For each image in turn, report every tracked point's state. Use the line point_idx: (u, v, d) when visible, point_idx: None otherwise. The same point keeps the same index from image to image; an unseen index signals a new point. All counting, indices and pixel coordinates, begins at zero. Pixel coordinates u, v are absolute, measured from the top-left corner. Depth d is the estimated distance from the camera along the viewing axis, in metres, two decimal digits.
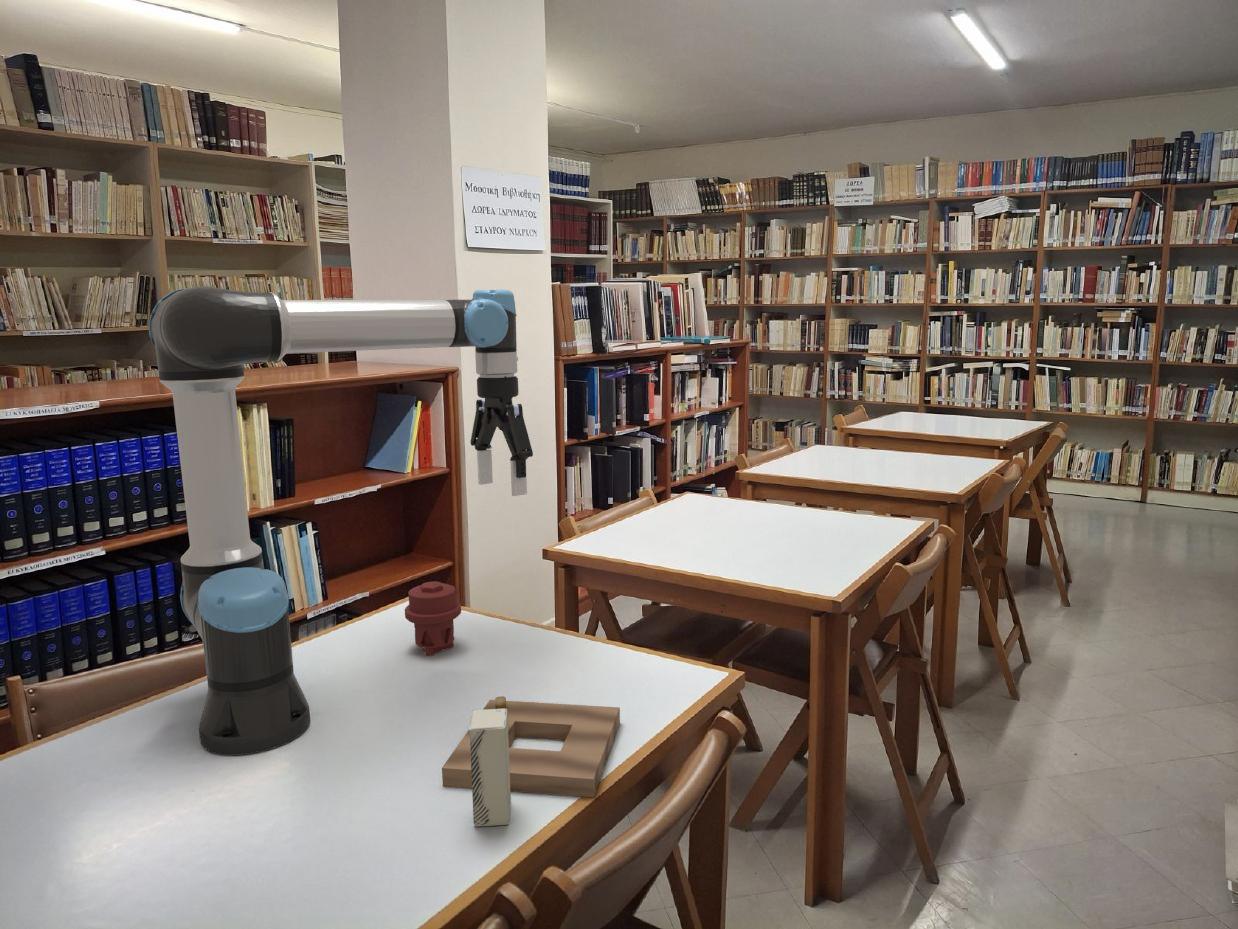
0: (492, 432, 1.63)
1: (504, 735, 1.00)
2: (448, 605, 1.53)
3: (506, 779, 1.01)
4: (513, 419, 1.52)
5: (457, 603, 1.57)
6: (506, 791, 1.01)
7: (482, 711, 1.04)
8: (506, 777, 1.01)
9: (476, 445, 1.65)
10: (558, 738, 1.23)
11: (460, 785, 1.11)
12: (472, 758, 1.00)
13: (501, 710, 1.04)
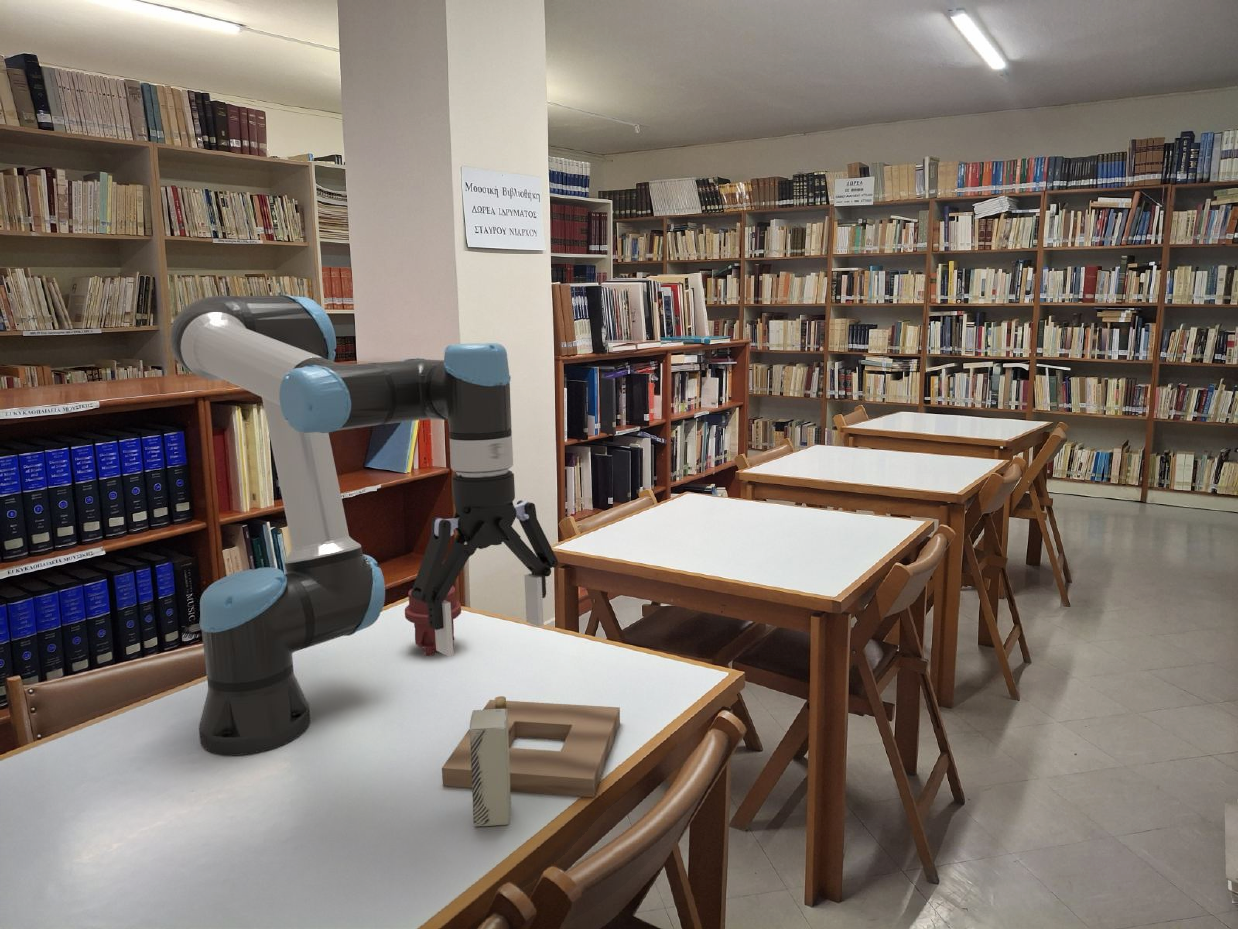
0: (519, 552, 1.08)
1: (504, 735, 1.00)
2: None
3: (506, 779, 1.01)
4: (431, 540, 1.01)
5: (457, 603, 1.57)
6: (506, 791, 1.01)
7: (482, 711, 1.04)
8: (506, 777, 1.01)
9: None
10: (558, 738, 1.23)
11: (460, 785, 1.11)
12: (472, 758, 1.00)
13: (501, 710, 1.04)
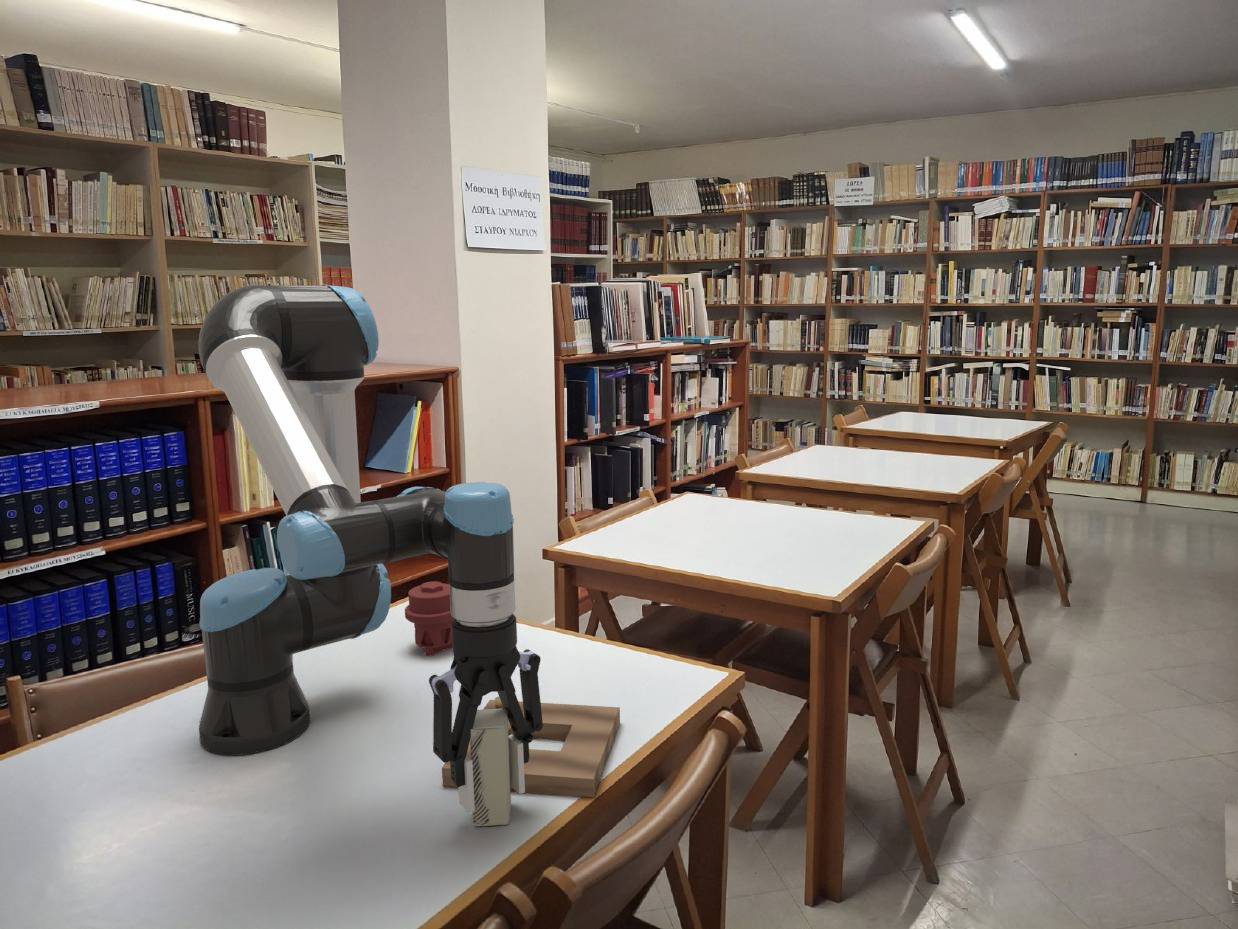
0: (509, 707, 1.03)
1: (504, 735, 1.00)
2: (448, 605, 1.53)
3: (506, 779, 1.01)
4: (434, 699, 0.99)
5: None
6: (506, 791, 1.01)
7: (482, 711, 1.04)
8: (506, 777, 1.01)
9: None
10: (558, 738, 1.23)
11: None
12: (472, 758, 1.00)
13: (501, 710, 1.04)
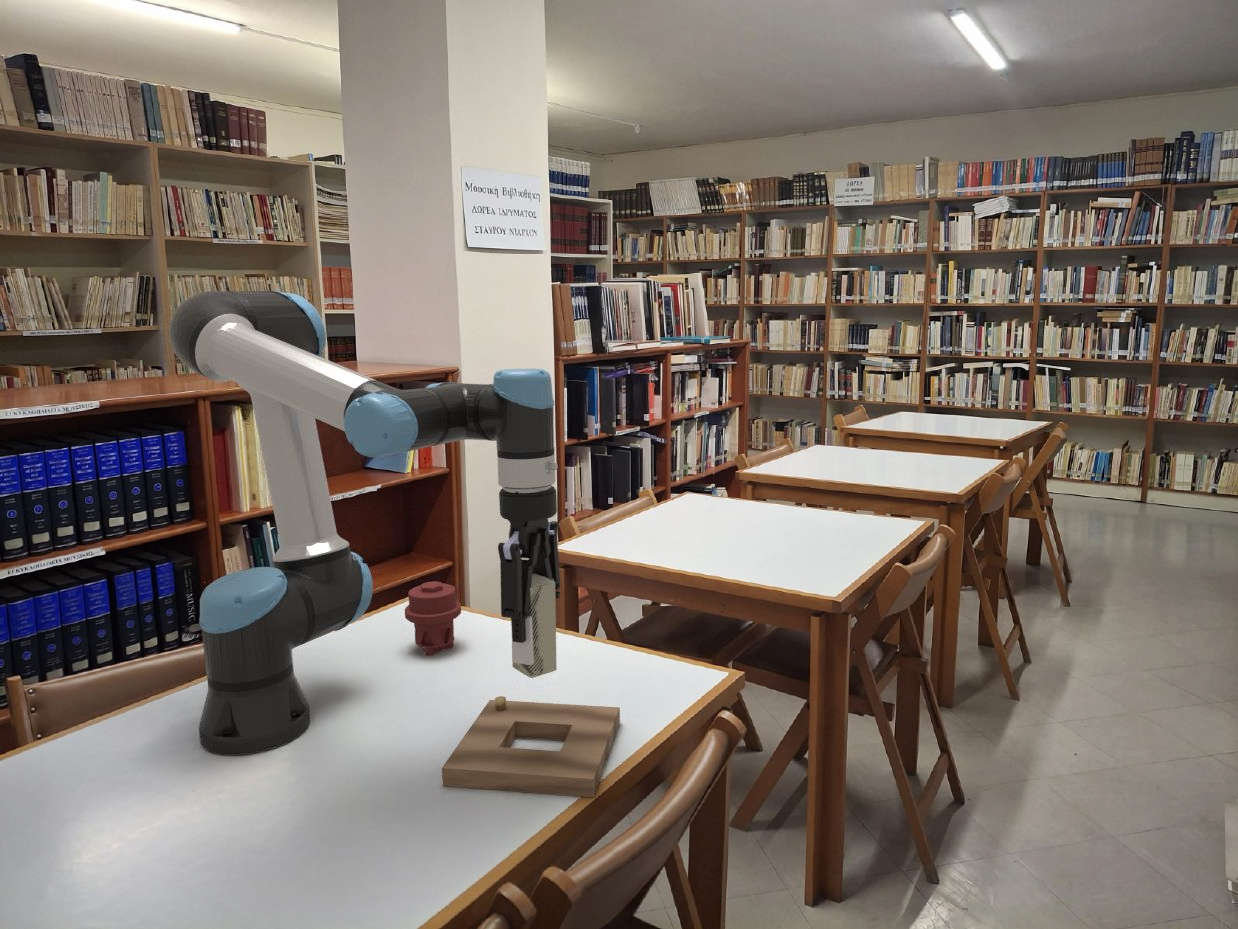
0: (543, 569, 1.17)
1: (554, 588, 1.14)
2: (448, 605, 1.53)
3: (555, 628, 1.15)
4: (502, 564, 1.09)
5: (457, 603, 1.57)
6: (555, 639, 1.16)
7: None
8: (555, 627, 1.15)
9: None
10: (558, 738, 1.23)
11: (460, 785, 1.11)
12: (531, 614, 1.12)
13: (534, 574, 1.17)
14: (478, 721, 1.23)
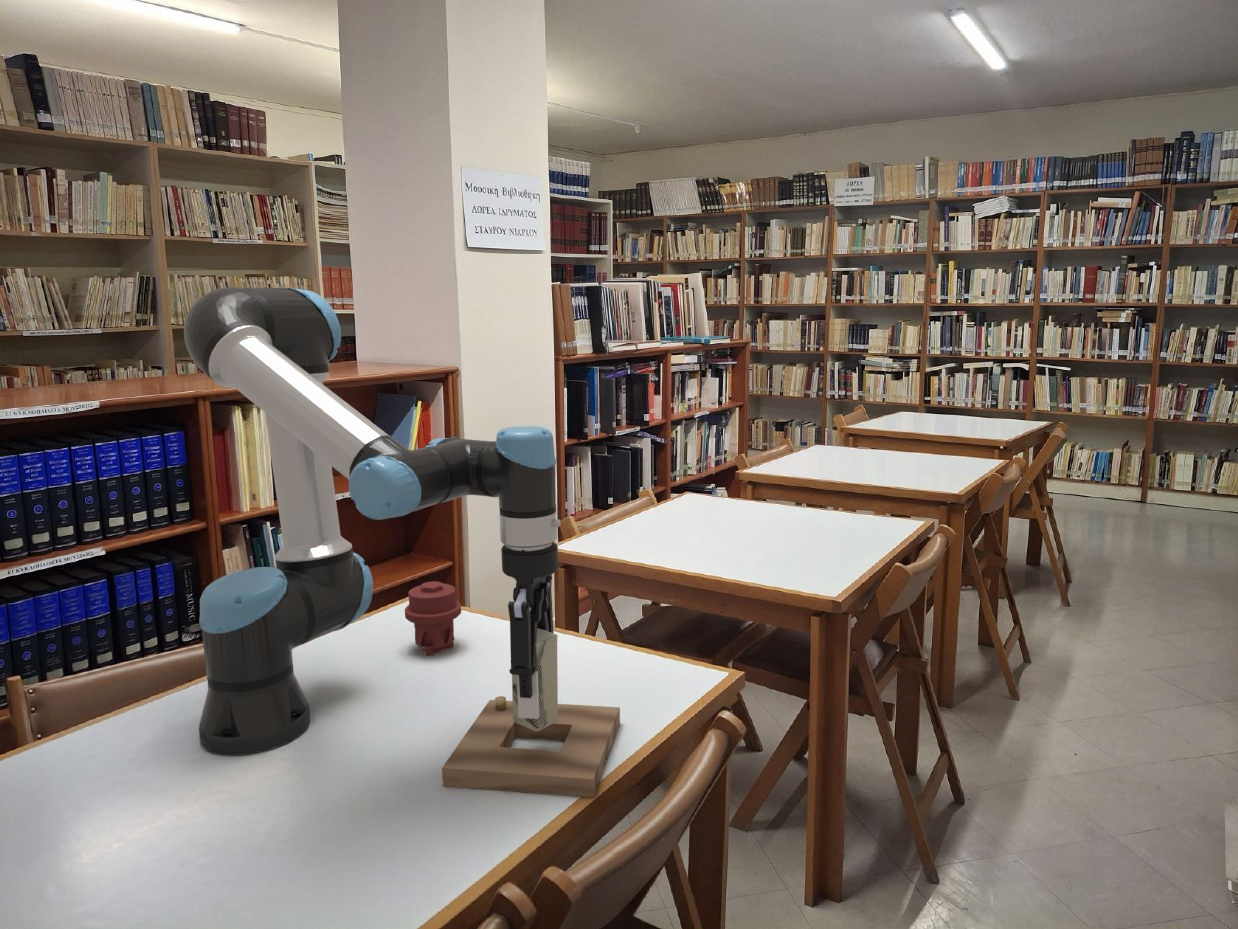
0: (542, 622, 1.18)
1: (556, 641, 1.16)
2: (448, 605, 1.53)
3: (557, 680, 1.17)
4: (512, 623, 1.10)
5: (457, 603, 1.57)
6: (557, 691, 1.18)
7: None
8: (557, 679, 1.17)
9: None
10: (558, 738, 1.23)
11: (460, 785, 1.11)
12: (537, 669, 1.14)
13: None
14: (478, 721, 1.23)
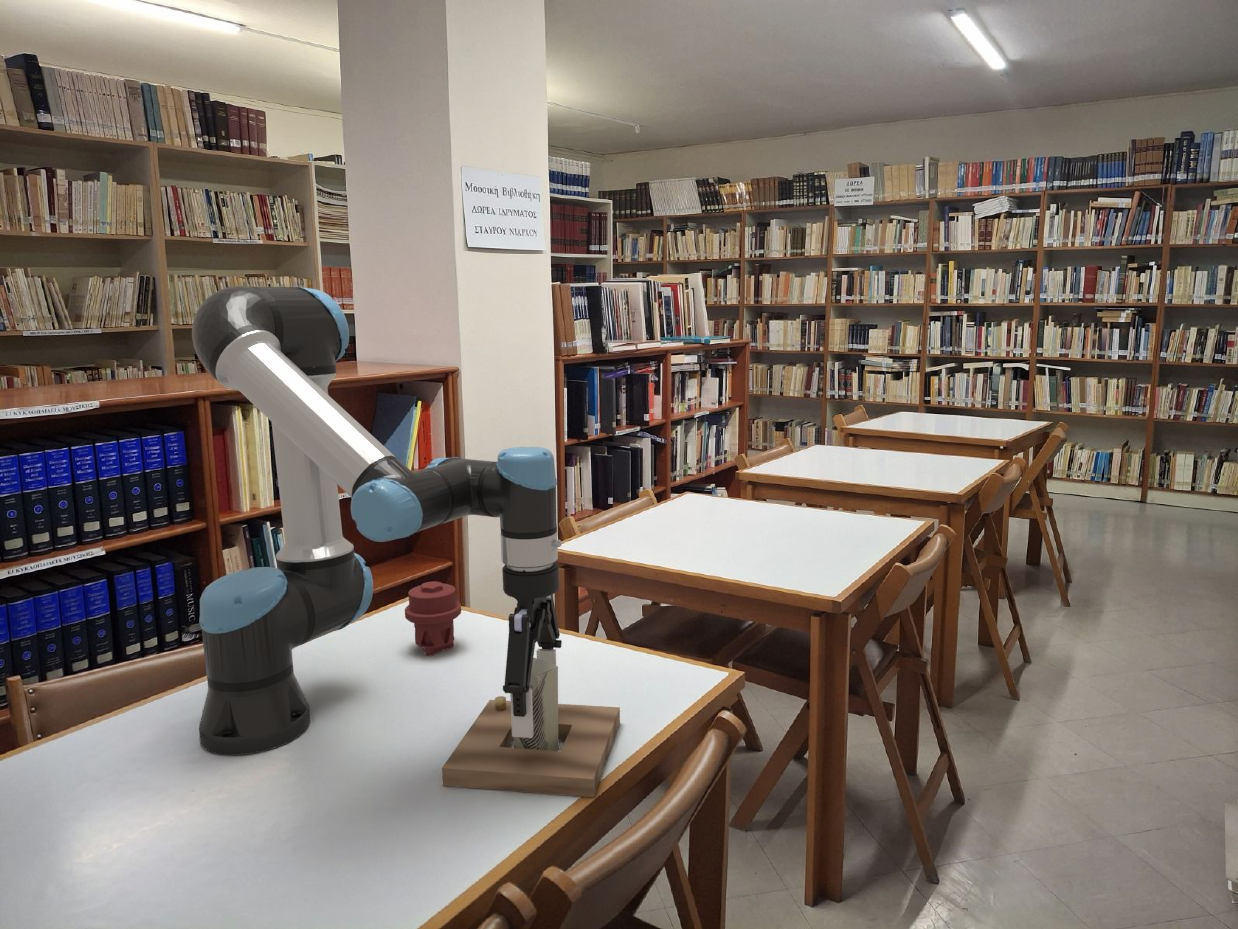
0: (546, 631, 1.20)
1: (557, 673, 1.17)
2: (448, 605, 1.53)
3: (557, 711, 1.18)
4: (511, 636, 1.09)
5: (457, 603, 1.57)
6: (557, 722, 1.18)
7: None
8: (557, 709, 1.18)
9: None
10: (558, 738, 1.23)
11: (460, 785, 1.11)
12: (538, 701, 1.15)
13: (533, 659, 1.19)
14: (478, 721, 1.23)
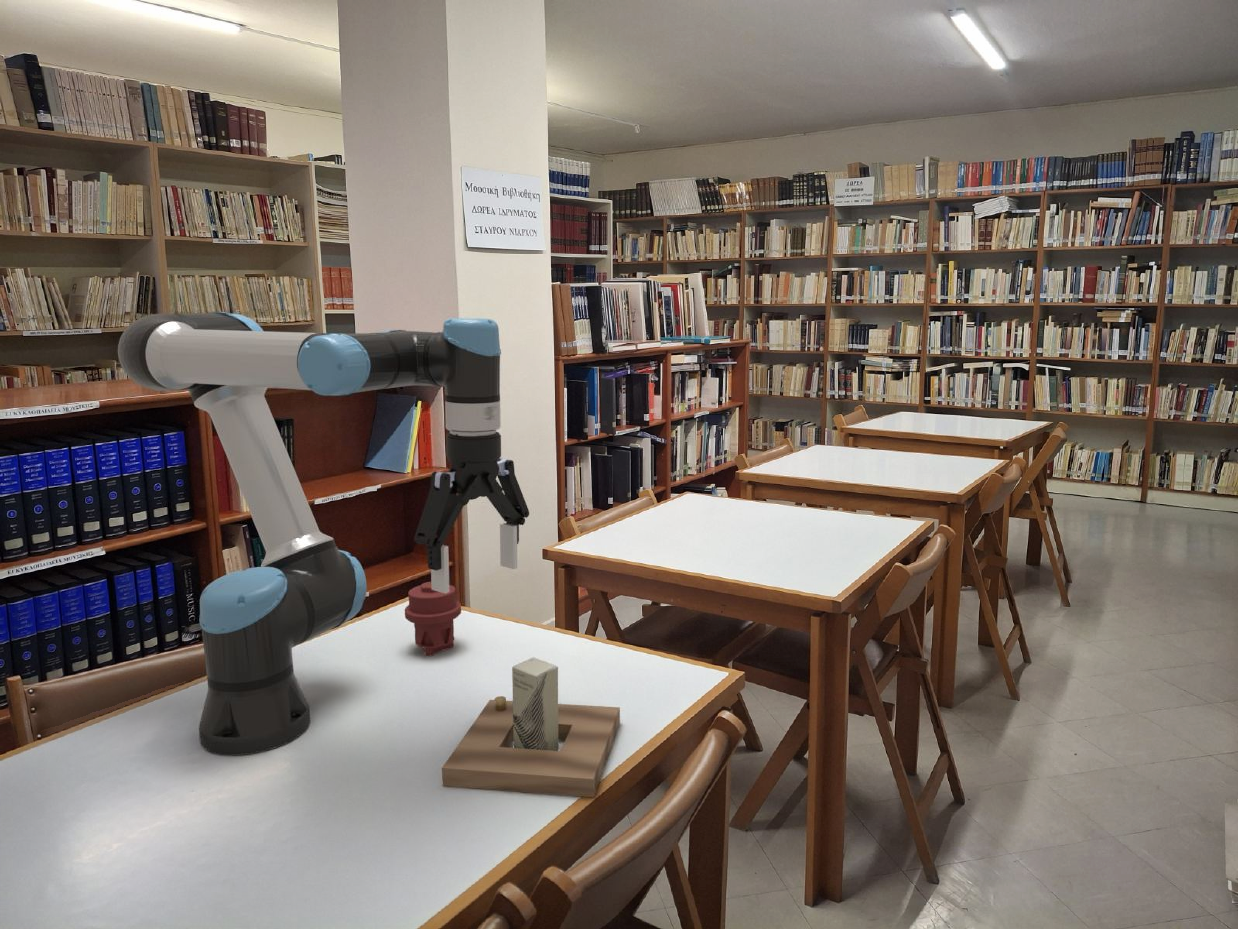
0: (500, 504, 1.23)
1: (557, 673, 1.17)
2: (448, 605, 1.53)
3: (557, 711, 1.18)
4: (431, 491, 1.14)
5: (457, 603, 1.57)
6: (557, 722, 1.18)
7: (521, 664, 1.17)
8: (557, 709, 1.18)
9: None
10: (558, 738, 1.23)
11: (460, 785, 1.11)
12: (538, 701, 1.15)
13: (533, 659, 1.19)
14: (478, 721, 1.23)
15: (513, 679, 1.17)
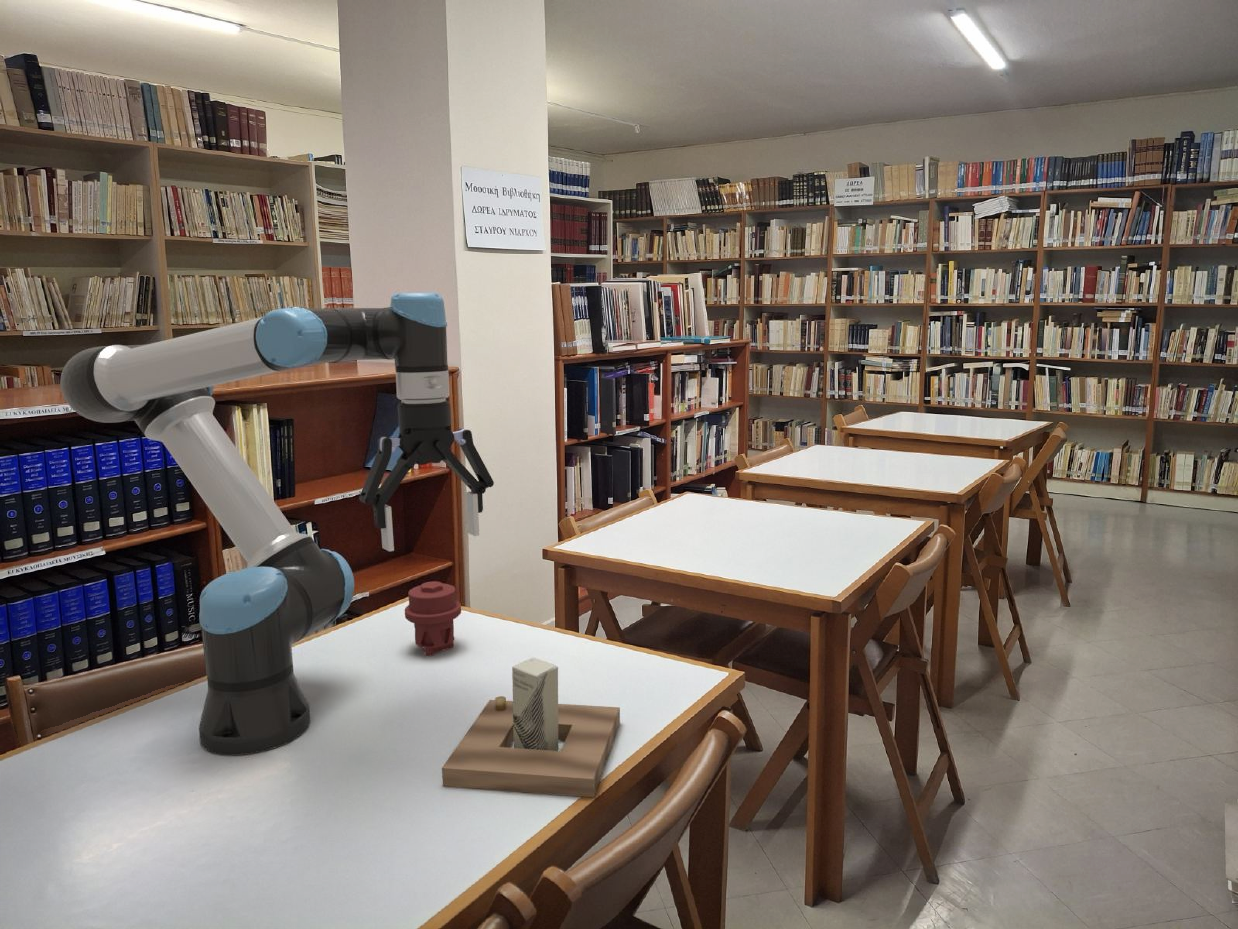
0: (457, 471, 1.29)
1: (557, 673, 1.17)
2: (448, 605, 1.53)
3: None
4: (377, 455, 1.23)
5: (457, 603, 1.57)
6: (557, 722, 1.18)
7: (521, 664, 1.17)
8: None
9: None
10: (558, 738, 1.23)
11: (460, 785, 1.11)
12: (538, 701, 1.15)
13: (533, 659, 1.19)
14: (478, 721, 1.23)
15: (513, 679, 1.17)
